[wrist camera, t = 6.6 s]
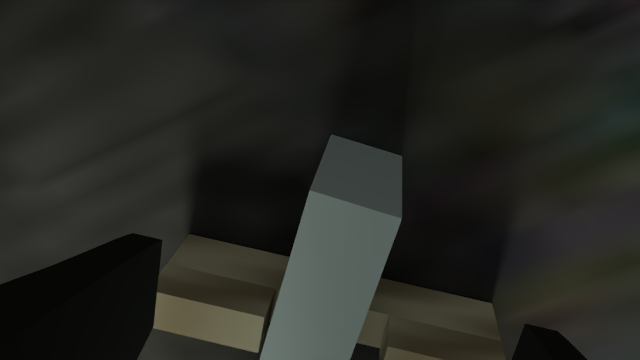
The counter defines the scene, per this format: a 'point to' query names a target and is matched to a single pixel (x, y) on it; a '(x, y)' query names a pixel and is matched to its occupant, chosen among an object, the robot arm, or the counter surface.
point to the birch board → (262, 293)
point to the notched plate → (337, 253)
